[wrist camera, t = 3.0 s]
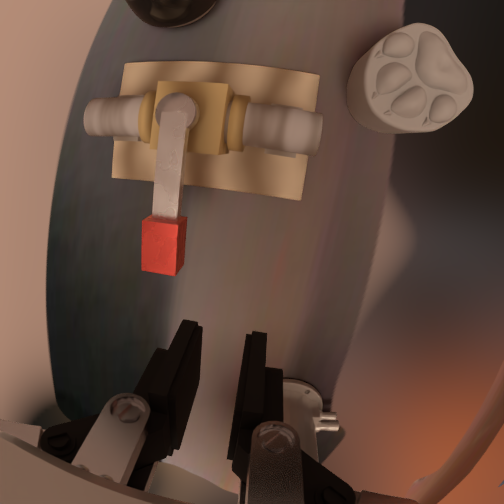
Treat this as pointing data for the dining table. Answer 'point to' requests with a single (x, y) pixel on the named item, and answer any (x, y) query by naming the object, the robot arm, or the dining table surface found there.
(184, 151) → the valve lever
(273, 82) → the valve bench
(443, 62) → the lumpy-topped squat cylinder
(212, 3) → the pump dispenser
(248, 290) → the dining table surface
